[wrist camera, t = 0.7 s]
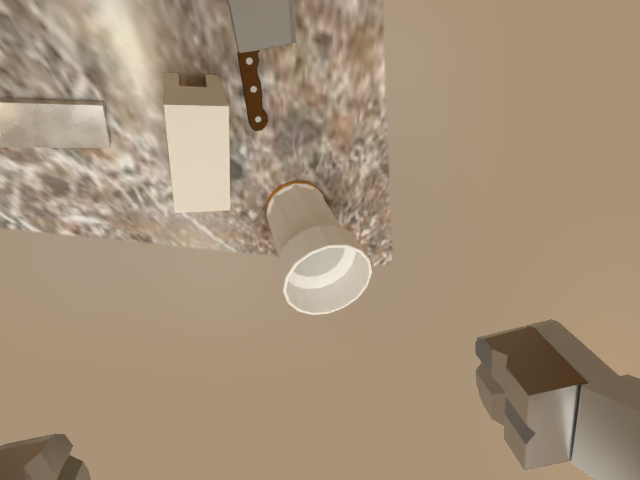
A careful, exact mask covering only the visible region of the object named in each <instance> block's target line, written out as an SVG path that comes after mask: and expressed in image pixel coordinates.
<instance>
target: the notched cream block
mask: <svg viewBox="0 0 640 480" xmlns="http://www.w3.org/2000/svg"><path fill="white" fill-rule="evenodd" d="M205 77H206V87H191V86H179V74H178V73H168V72H165V75H164V112H165V122H166V132H167V141H168V151H169V160H170V170H171V180H172V189H173V199H174V208H175V213H183V212H203V211H223V210H230V156H229V105H228V102H227V99H226V96H225V93H224V90H223V87H222V84H221V81H220V78H219V75H212V74H205Z"/></svg>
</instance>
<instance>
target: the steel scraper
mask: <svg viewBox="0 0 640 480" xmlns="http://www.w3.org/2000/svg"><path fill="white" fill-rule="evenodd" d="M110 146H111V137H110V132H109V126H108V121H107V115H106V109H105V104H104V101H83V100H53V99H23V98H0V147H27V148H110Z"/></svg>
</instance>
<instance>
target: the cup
mask: <svg viewBox="0 0 640 480" xmlns="http://www.w3.org/2000/svg"><path fill="white" fill-rule="evenodd" d="M266 214H267V218H268V222H269V225H270V229H271V233H272V236H273V240H274V243H275V247H276V251H277V254H278V258H279V259H278V265H277V271H278V274H279V278H280V282H281V286H282V290H283V293H284V295H285V298H286V300H287V303H288V304H289V305H291V306H292V307H293V308H295V309H296V310H297V311H299V312H303V313H308V314H312V315H315V314H327V313H331V312H334V311H336V310H339V309H341V308H344V307H346V306H347V305H349V304H350V303H351V302H353V301H354V300H356V299H357V298H358V297H359V296H360V294H362V292H363V291H364V290H365V288H366V287H367V286H368V283H369V280H370V277H371V274H372V269H371V263H370V259H369V258H368V256H367V255H366V253H365V252H364V250H363V249H362V247H361V246H360V244H359V243H358V241H357V240H356V239H355V237H354V236H353V235H352V234H351V233H350V232H349V230H346V229H344V228H342V227H341V226H340V224H339V222H338V221H337V219H336V218H335V216H334V215H333V213H332V211H331V210H330V208H329V207H328V205H327V204H326V202H325V200H324V197H323V195H322V193H321V192H320V191H319V189H318V188H317V187H316V186H315V185H313V184H311V183H308V182H305V181H292V182H289V183H286V184H284V185H282V186H280V187H279V188H278V189H276V190H275V191H274V192H273V193H272V194H271V196H270V198H269V200H268V202H267V206H266Z"/></svg>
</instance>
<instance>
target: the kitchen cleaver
mask: <svg viewBox="0 0 640 480" xmlns="http://www.w3.org/2000/svg"><path fill="white" fill-rule="evenodd" d="M228 4H229V8H230V13H231V18H232V23H233V28H234V34H235V39H236V44H237V49H238V60H239V66H240V72H241V78H242V84H243V90H244V96H245V102H246V108H247V114H248V120H249V124H250V126H251V128H252V129H253V130H255V131H259V130H262V129H263V128H264V127H265V126H266V124H267V122H268V119H267V114H266V113H265V112H264V110H263V109H262V90H261V83H260V80H259V77H258V74H257V67H258V63H259V59H258V52H259V51H260V50H262V49H267V48H271V47H276V46H280V45H285V44H289V43H295V42H296V37H295V29H294V22H293V15H292V7H291V0H228Z"/></svg>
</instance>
